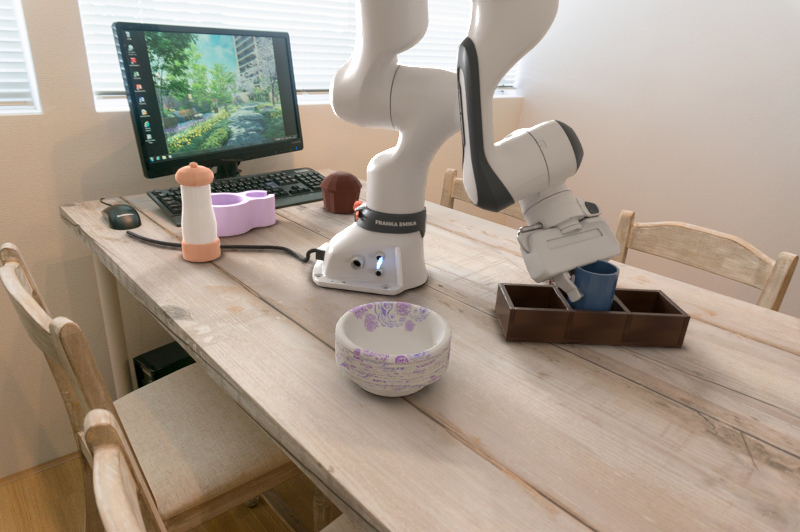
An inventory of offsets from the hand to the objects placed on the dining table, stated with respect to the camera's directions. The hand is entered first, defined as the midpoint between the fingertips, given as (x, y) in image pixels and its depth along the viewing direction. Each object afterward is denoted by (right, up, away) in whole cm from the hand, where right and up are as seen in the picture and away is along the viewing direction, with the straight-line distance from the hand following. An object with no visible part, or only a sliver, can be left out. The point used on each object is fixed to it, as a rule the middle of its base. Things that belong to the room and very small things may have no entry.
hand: (594, 294), depth 85 cm
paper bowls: (-33, -11, -13) cm, 37 cm away
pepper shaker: (-72, +7, +24) cm, 76 cm away
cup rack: (-1, -6, +3) cm, 7 cm away
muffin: (-48, +20, +61) cm, 80 cm away
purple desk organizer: (-71, +14, +42) cm, 84 cm away
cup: (-1, -5, +3) cm, 5 cm away
